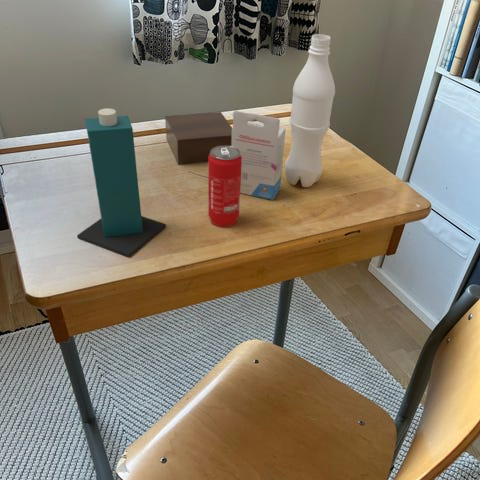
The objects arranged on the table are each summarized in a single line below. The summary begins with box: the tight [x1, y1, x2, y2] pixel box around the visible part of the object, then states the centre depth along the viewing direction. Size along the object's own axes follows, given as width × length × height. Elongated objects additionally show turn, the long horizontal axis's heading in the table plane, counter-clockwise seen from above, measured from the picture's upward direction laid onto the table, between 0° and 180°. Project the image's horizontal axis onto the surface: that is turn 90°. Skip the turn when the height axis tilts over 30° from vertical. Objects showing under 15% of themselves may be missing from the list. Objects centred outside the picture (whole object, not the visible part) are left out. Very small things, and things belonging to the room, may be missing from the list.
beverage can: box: [207, 146, 242, 228], centre depth 83 cm, size 5×5×12 cm
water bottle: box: [284, 33, 336, 188], centre depth 90 cm, size 7×7×25 cm
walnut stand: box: [164, 111, 233, 165], centre depth 105 cm, size 12×12×5 cm
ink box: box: [232, 110, 287, 201], centre depth 90 cm, size 8×5×15 cm, turn 70°
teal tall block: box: [84, 107, 143, 237], centre depth 76 cm, size 19×6×4 cm
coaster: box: [76, 215, 167, 258], centre depth 83 cm, size 10×10×1 cm
